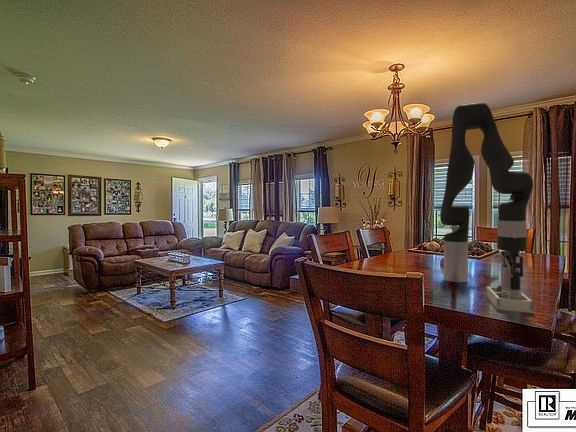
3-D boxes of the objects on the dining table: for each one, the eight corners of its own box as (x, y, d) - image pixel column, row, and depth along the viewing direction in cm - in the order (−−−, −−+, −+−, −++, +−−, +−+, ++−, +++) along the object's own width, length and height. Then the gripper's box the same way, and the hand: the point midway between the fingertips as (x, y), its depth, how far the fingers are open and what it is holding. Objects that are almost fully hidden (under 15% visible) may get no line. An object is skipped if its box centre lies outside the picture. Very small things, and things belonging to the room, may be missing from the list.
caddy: (486, 296, 111) (486, 286, 110) (517, 299, 107) (517, 289, 107) (497, 309, 96) (497, 298, 96) (533, 313, 92) (533, 301, 92)
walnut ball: (494, 296, 108) (494, 282, 108) (511, 297, 106) (511, 283, 106) (498, 299, 104) (498, 285, 104) (515, 301, 102) (515, 286, 102)
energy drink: (514, 302, 100) (514, 265, 100) (525, 307, 95) (525, 268, 95) (496, 302, 101) (497, 265, 101) (506, 307, 96) (507, 268, 95)
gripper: (492, 233, 106) (492, 280, 106) (503, 236, 92) (502, 290, 93) (519, 234, 103) (518, 282, 103) (534, 237, 90) (533, 293, 90)
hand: (511, 286), depth 98 cm, fingers open, 8 cm apart
